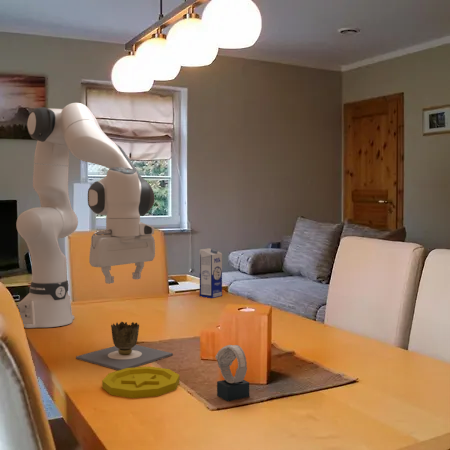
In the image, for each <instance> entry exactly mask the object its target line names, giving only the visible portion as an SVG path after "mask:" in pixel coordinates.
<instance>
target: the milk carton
mask: <svg viewBox="0 0 450 450" xmlns="http://www.w3.org/2000/svg"><path fill="white" fill-rule="evenodd" d="M200 296H202V297H201V298H206V297H207V299H215V298H219V297H222V296H223V253H222V252H220V251H219V250H218V249H215V248H210V247H207V248H202V249H199V297H200Z"/></svg>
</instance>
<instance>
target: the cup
mask: <svg viewBox="0 0 450 450" xmlns="http://www.w3.org/2000/svg"><path fill="white" fill-rule="evenodd" d="M110 328H111V337H112V342H113V345H114V346H116V347H117V348H119V350H118V352H119V354H121V355H129V354H131V353H132V349H131V348H133V347H134V346H135V345H137V343H138V339H139V330H140V323H139V324H138V322H133V321H132V322H131V323H130V324H128V322H127V321H125V322H124V321H120V322H119V323H118V322H116V323H114V322H113V324H111V325H110Z"/></svg>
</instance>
